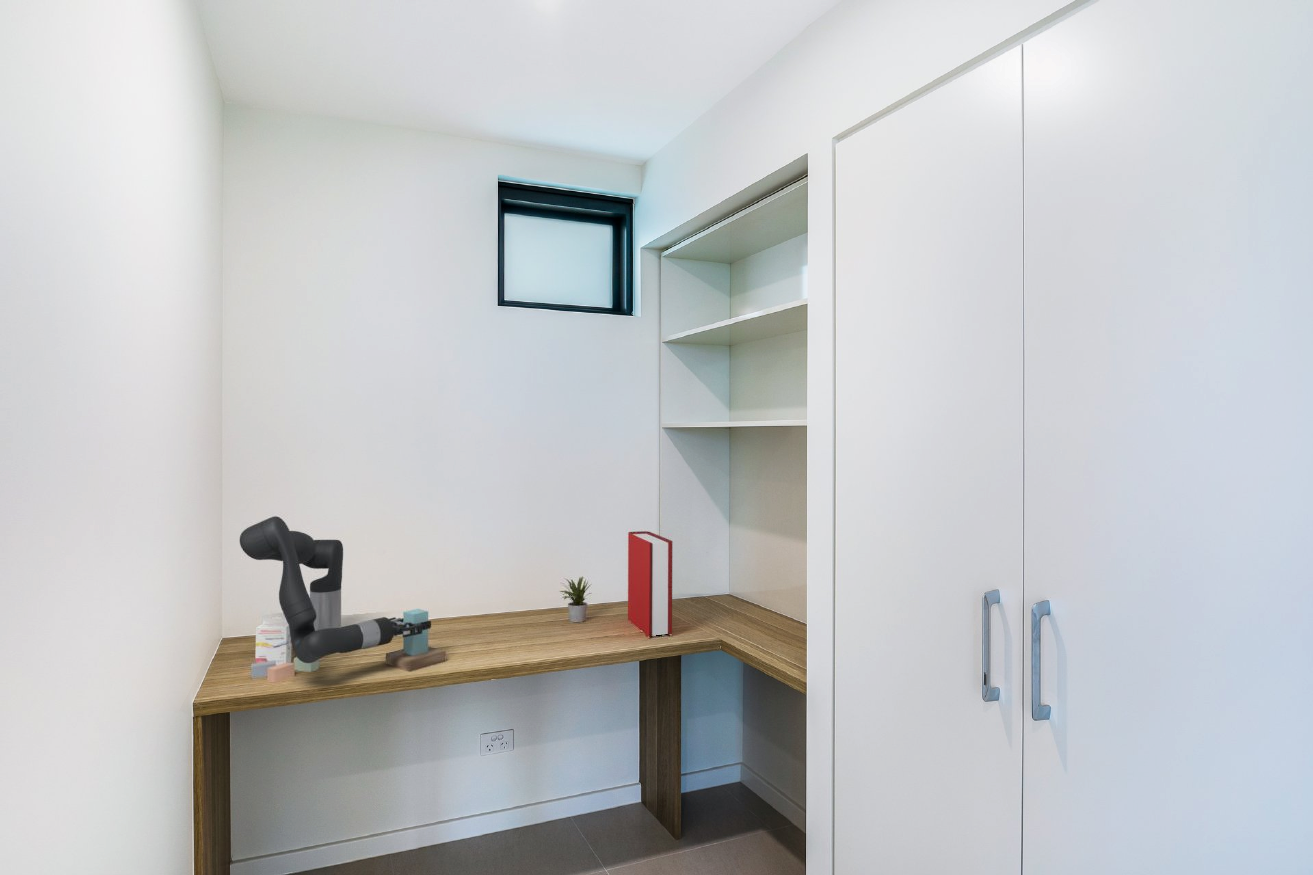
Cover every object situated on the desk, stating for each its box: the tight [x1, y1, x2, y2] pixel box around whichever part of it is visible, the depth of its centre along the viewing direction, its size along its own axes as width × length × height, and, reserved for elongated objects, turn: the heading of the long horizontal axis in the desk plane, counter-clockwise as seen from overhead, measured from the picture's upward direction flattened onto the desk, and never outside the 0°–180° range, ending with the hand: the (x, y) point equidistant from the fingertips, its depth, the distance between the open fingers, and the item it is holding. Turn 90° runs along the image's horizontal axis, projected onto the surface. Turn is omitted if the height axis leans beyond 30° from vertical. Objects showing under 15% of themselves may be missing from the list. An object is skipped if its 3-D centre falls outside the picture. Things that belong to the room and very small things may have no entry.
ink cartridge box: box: [254, 612, 292, 665], centre depth 214 cm, size 9×5×15 cm, turn 99°
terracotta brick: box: [266, 662, 296, 683], centre depth 202 cm, size 6×3×4 cm, turn 153°
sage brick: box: [293, 657, 320, 673], centre depth 210 cm, size 6×3×4 cm, turn 73°
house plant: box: [559, 576, 591, 623], centre depth 268 cm, size 14×14×16 cm
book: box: [627, 530, 673, 638], centre depth 258 cm, size 27×8×32 cm, turn 18°
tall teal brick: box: [402, 608, 429, 656], centre depth 217 cm, size 5×5×12 cm
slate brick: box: [250, 660, 276, 679], centre depth 205 cm, size 6×3×4 cm, turn 119°
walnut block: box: [385, 645, 447, 672], centre depth 217 cm, size 12×12×3 cm
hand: (421, 622), depth 218 cm, fingers open, 8 cm apart
